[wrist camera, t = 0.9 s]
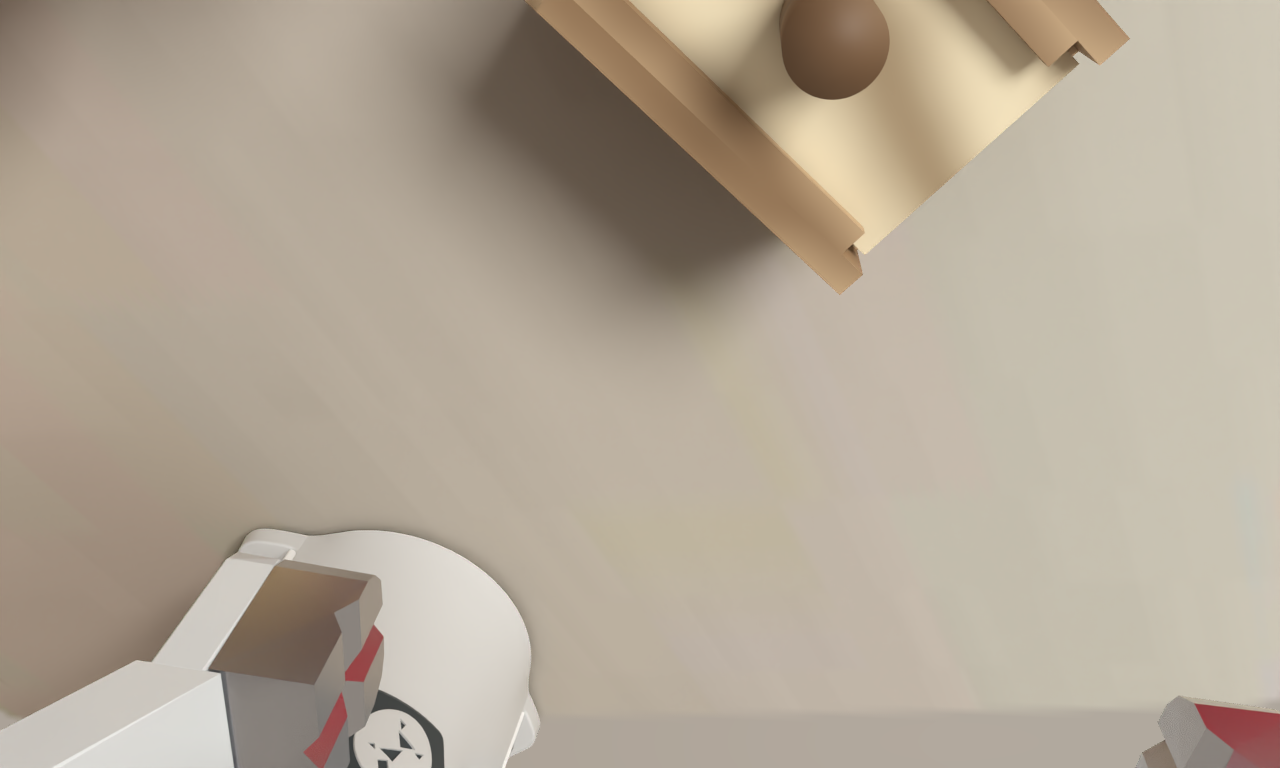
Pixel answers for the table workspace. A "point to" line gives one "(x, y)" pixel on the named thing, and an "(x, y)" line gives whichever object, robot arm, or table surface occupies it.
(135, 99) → the table surface
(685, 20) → the lid
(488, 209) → the table surface
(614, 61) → the lid box
